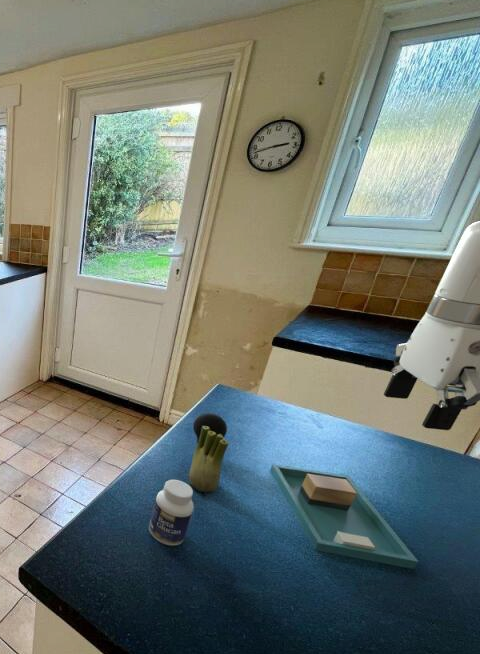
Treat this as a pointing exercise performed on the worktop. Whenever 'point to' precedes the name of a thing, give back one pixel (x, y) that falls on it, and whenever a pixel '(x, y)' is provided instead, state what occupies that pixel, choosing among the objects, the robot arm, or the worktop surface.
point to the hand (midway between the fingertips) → (413, 411)
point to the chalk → (353, 540)
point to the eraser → (328, 492)
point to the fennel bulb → (207, 461)
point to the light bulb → (210, 424)
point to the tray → (342, 521)
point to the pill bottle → (172, 513)
